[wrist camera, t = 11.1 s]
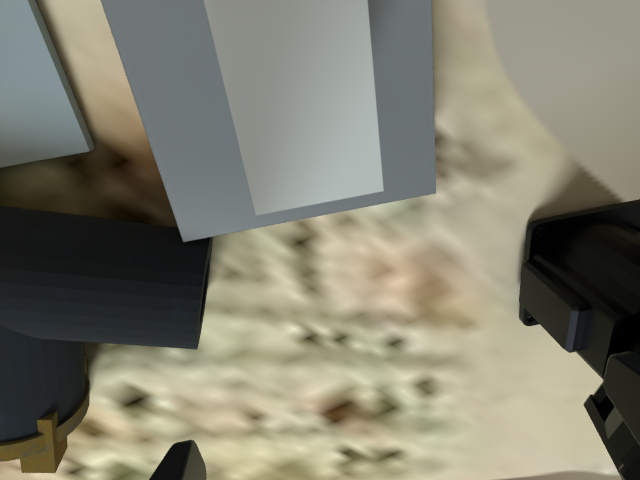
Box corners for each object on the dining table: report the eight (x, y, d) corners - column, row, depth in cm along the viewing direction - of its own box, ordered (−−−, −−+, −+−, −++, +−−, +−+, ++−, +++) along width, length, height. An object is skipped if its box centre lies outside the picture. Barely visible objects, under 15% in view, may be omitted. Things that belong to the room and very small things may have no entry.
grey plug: (307, -20, 15) (361, -71, 7) (327, 118, 18) (383, 191, 10) (226, -7, 15) (193, -44, 7) (256, 130, 18) (256, 215, 10)
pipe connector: (181, 486, 19) (-224, 485, 16) (195, 398, 24) (-115, 384, 21) (203, 269, 15) (-355, 209, 12) (216, 213, 19) (-178, 160, 16)
